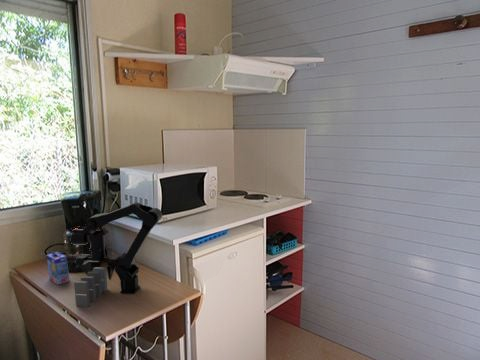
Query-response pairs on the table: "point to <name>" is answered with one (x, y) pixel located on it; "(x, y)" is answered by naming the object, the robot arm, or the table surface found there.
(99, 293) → the domino
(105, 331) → the table surface
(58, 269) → the ink cartridge box
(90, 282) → the domino
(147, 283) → the table surface
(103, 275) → the domino
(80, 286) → the domino
